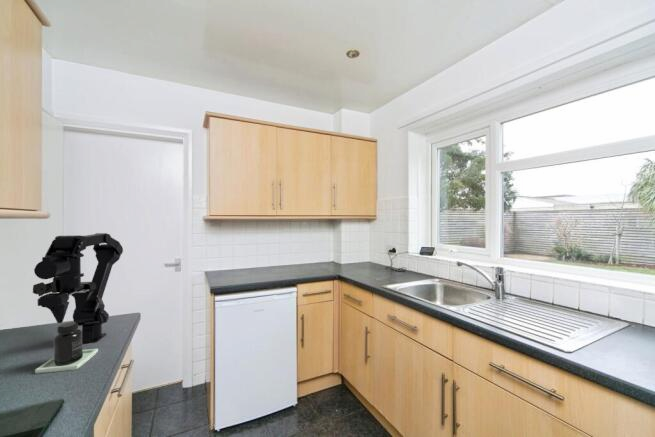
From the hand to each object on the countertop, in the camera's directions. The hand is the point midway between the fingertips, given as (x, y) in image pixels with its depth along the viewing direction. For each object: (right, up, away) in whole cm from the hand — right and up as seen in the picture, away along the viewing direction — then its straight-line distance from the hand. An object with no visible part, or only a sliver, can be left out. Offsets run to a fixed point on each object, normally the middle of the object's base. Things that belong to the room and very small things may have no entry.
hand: (69, 317), depth 92 cm
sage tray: (+4, -13, -4) cm, 14 cm away
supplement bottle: (+3, -13, -4) cm, 14 cm away
